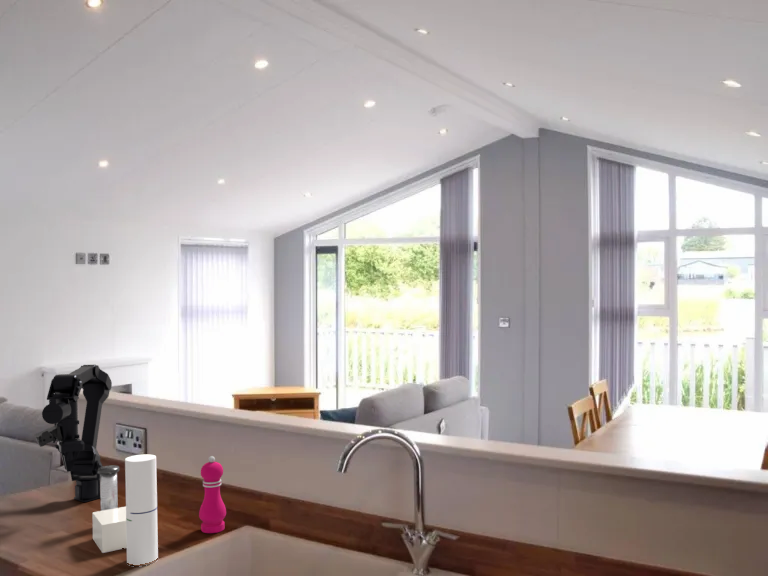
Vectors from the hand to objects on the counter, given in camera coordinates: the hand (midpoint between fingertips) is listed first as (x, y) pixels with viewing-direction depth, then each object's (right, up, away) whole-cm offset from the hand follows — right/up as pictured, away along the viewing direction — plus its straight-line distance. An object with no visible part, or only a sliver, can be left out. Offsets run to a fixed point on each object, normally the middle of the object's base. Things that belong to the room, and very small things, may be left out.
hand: (68, 470), depth 206 cm
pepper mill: (+46, -13, -14) cm, 50 cm away
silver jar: (+18, -13, -13) cm, 26 cm away
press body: (+24, -13, -21) cm, 35 cm away
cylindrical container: (+34, -13, -35) cm, 50 cm away
